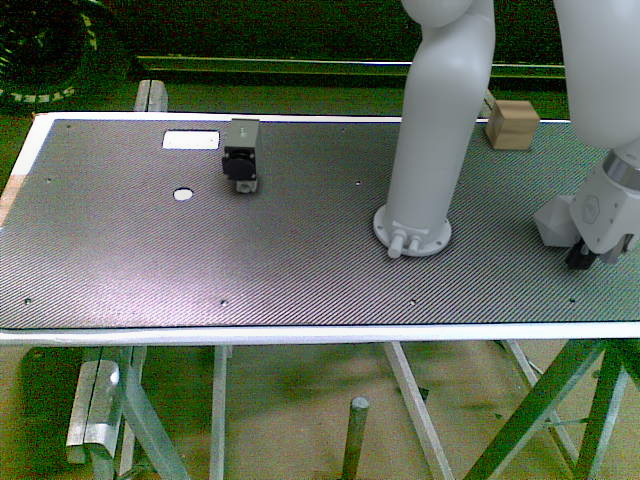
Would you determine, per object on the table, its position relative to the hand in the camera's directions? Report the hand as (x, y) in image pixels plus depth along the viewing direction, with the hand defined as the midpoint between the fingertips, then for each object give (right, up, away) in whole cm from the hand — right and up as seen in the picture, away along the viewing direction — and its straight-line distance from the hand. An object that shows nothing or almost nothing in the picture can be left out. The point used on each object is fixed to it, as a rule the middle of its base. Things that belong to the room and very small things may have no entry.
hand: (575, 265), depth 72 cm
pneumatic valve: (-52, +13, +12) cm, 55 cm away
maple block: (0, +25, +26) cm, 36 cm away
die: (0, +4, +6) cm, 7 cm away
